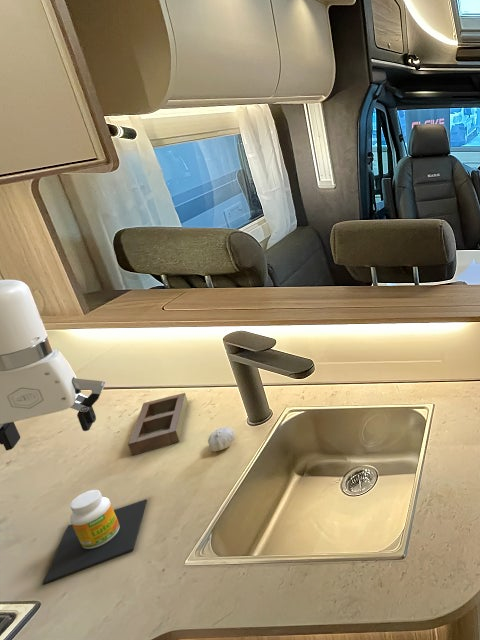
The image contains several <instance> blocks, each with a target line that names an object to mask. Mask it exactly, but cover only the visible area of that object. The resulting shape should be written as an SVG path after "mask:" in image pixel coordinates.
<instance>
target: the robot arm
mask: <svg viewBox="0 0 480 640" xmlns="http://www.w3.org/2000/svg"><path fill="white" fill-rule="evenodd" d="M105 386H106V382H105V381H104V380H97V379H96V380H95V379H87V378H78V377H77V375H76V373H75V372H74V370H73V368H72V366H71V365H70V363H69V361H68V360H67V358H65V356H64V355H63V354H62V352H61V351H60V350H59V349H54V348H53V346H52V343H51V341H50V337H49V335H48V333H47V330H46V328H45V325H44V322H43V320H42V317H41V314H40V312H39V310H38V307H37V304H36V302H35V299H34V297H33V294H32V292H31V289H30V287H29V285H28V284H26V282H24V281H21V280H17V279H0V445H1V446H2V445H3V447H4V450H5V451H11V450H13V449H14V448H15V447H16V445H17V444H18V442H19V441H20V440H21V434H20V433H19V430H18V428H17V426H16V424H15V422H19V421H23V420H28V419H33V418H37V417H42V416H47V415H51V414H54V413H59V412H63V411H66V410H68V409H72V410H74V411H75V410H76V411H77V413H76V416H77V419H78V422H79V424H80V427H81V430H82V431H83V432H88V431H90V430H91V427H92V426H93V423H95V422H96V420H97V416H96V413H95V411H94V407H93V405H94V404H95V403H96V402H98V400H99V399H100V397H101V394H102V392H103V390H104V387H105ZM82 390H88V391H91V393H90V394H89V395H86V394H83V393H82Z"/></svg>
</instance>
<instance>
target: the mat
mask: <svg viewBox="0 0 480 640" xmlns="http://www.w3.org/2000/svg"><path fill="white" fill-rule="evenodd" d="M147 501H148V499H147V498H146V499H142V500H139V501H137V502H134V503H131V504H128V505H125V506H121V507H119V508H115V509H113V510H114V512H115V515H116V517H117V520H118V522H119V525H120V528H119V531H118V532H117V534H116V535H115V536H114V537H113V538H112V539H111V540H109V541H108V542H107V543H105V544H103V545H101V546H99V547H96V548H92V549H86V548H83V547H82V545H81V543H80V541H79V539H78V537H77V534H76V532H75V530H74V528H73V526H72V524H71V523H70V524H68V526H67V527H66V530H65V532H64V534H63V536H62V539H61V541H60V543H59V545H58V548H57V550H56V552H55V554H54V557H53V559H52V561H51V563H50V566H49V569H48V570H47V573H46V575H45V577H44V579H43V582H42V583H43V585H46V584H49V583H51V582H54V581H57V580H59V579H62V578H65V577H68V576H70V575H72V574H76V573H78V572H81V571H84V570H87V569H88V568H91V567H93V566H96V565H99V564H102V563H105V562H108V561H109V560H112V559H115V558H117V557H121V556H123V555H125V554H129V553H131V552H133V551H135V546H136V543H137V539H138V535H139V531H140V527H141V524H142V520H143V517H144V513H145V509H146V505H147Z"/></svg>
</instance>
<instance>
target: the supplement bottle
mask: <svg viewBox="0 0 480 640" xmlns="http://www.w3.org/2000/svg"><path fill="white" fill-rule="evenodd" d="M69 506H70V509H71V514H70V518H69V520H70V525H71V524H72V526H73V528H74V530H75V532H76V534H77V537H78V539H79V541H80V543H81V545H82V547H83V548H86V549H92V548H96V547H99V546H101V545H103V544H105V543H107V542H108V541H109V540H111V539H112V538H113V537H114V536H115V535H116V534H117V532H118V531H119V528H120V525H119V522H118V520H117V517H116V515H115V512H114V510H115V509H114V507H113V505H112V503H111V500H110V499H109V498H108V497H106V496H103V494H102V492H101V491H100V490H98V489H91V490H87V491H85V492H83V493H81V494H79V495H77V496H76V497H75V498H74V499H73V500H72V501H71V502H70V505H69Z"/></svg>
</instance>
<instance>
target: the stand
mask: <svg viewBox="0 0 480 640" xmlns="http://www.w3.org/2000/svg"><path fill="white" fill-rule="evenodd" d="M188 405H189V401H188V397H187V394H186V392H183V393H178V394H174V395H170V396H166V397H163V398H157V399H154V400H150V401H146V402H143V403H142V407H141V409H140V412H139V414H138V417H137V420H136V422H135V425H134V427H133V430H132V434H131V436H130V438H129V441H128V448H129V451H130V454H131V456H137V455H139V454H142V453H143V454H144V453H146V452H150V451H154V450H156V449H160V448H164V447H166V446H170V445H173V444H177V443H180V440H181V436H182V432H183V428H184V424H185V419H186V413H187V410H188ZM167 428H168V429H167ZM163 429H164V430H163ZM159 430H161V431H159ZM156 431H158V432H156ZM153 432H154V433H153ZM149 433H151V434H149Z"/></svg>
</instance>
